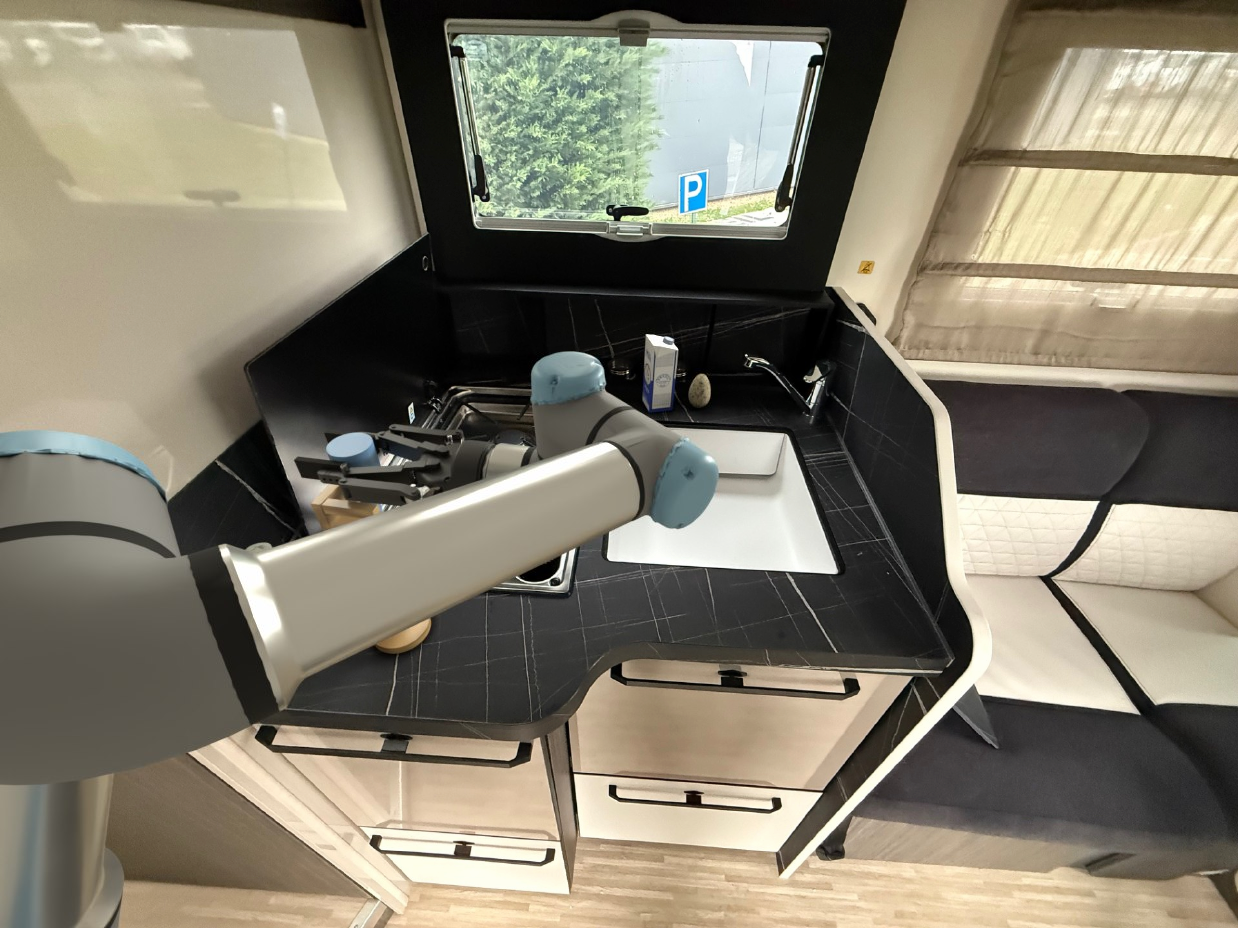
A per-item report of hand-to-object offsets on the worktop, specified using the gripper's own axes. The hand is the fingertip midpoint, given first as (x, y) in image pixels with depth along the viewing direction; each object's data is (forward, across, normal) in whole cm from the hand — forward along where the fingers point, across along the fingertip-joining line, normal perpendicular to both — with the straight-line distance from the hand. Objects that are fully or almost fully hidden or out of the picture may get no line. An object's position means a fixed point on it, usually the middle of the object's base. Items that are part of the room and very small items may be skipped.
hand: (315, 453), depth 65 cm
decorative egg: (-49, +81, -36) cm, 101 cm away
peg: (-5, 0, -16) cm, 17 cm away
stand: (-4, 0, -36) cm, 36 cm away
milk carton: (-37, +80, -36) cm, 95 cm away
